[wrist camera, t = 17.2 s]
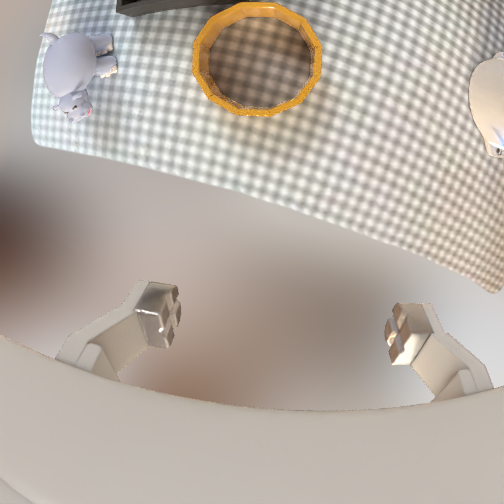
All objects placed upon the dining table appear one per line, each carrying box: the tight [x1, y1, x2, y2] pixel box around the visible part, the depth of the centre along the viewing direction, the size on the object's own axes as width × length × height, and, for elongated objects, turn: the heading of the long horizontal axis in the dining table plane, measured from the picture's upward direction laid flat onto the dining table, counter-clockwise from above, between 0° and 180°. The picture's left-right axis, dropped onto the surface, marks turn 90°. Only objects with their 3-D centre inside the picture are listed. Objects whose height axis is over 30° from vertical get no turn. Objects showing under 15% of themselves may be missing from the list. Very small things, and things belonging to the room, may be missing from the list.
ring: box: [192, 2, 322, 117], centre depth 28 cm, size 15×15×5 cm
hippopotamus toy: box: [40, 33, 117, 122], centre depth 27 cm, size 11×15×10 cm
